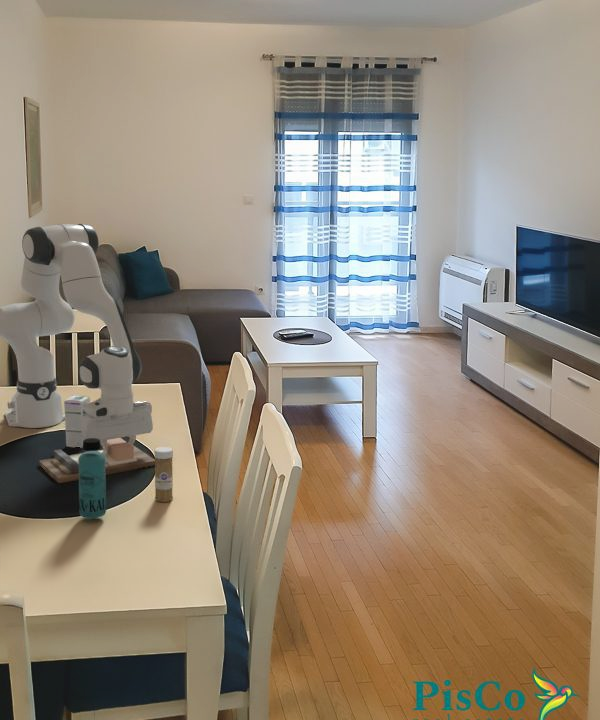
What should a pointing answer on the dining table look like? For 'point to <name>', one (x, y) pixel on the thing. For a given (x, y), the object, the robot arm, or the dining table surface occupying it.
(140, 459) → the board
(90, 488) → the beverage bottle
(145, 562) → the dining table surface
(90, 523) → the dining table surface
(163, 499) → the sprinkles bottle
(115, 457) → the pink rectangular block
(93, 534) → the dining table surface
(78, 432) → the syrup box
